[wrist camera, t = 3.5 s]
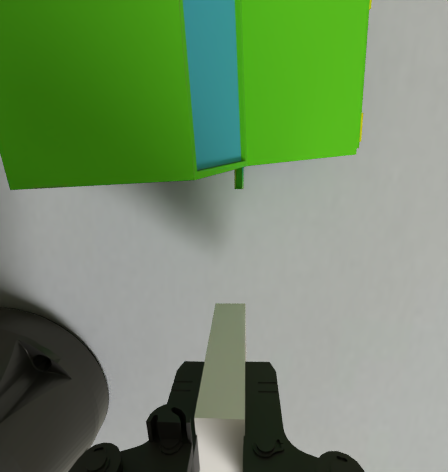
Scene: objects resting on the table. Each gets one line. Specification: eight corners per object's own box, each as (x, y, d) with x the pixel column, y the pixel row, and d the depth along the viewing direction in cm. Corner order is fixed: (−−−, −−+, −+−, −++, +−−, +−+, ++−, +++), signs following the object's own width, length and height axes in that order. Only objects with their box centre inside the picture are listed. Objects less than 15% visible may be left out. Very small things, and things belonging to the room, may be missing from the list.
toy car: (333, 171, 19) (429, 202, 9) (127, 182, 20) (18, 220, 10) (343, -28, 16) (504, -296, 6) (99, -2, 17) (-97, -199, 7)
